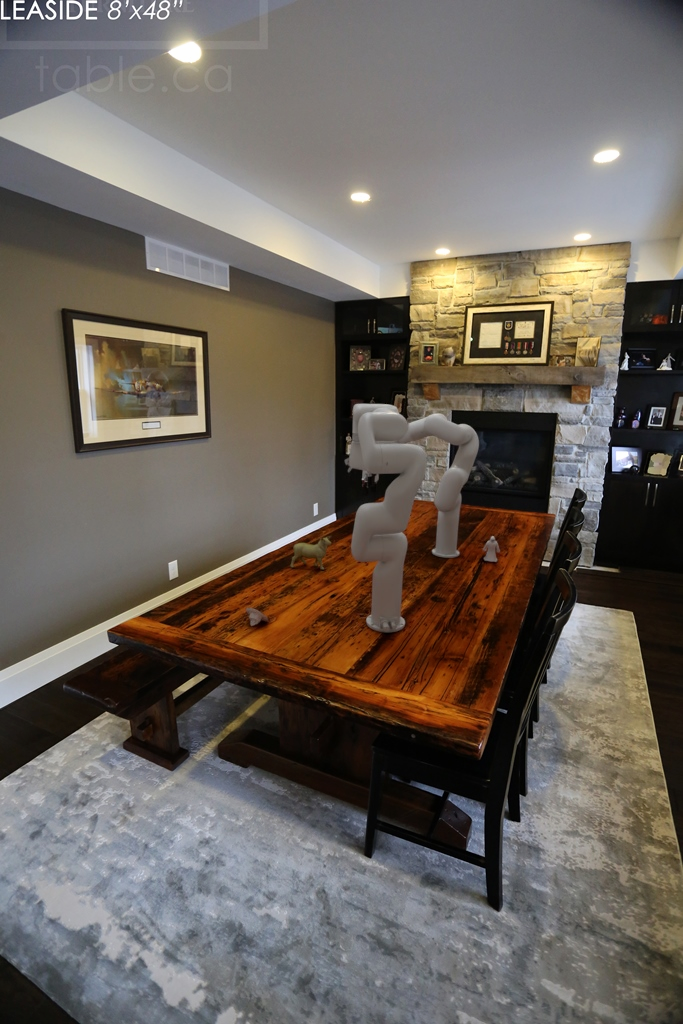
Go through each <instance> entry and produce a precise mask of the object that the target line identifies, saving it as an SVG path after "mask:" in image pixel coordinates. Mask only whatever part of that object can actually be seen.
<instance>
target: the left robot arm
mask: <svg viewBox="0 0 683 1024" xmlns="http://www.w3.org/2000/svg"><path fill="white" fill-rule="evenodd" d="M408 424H409V423H408V420H407V418H405V417H404V415H402V414H401V413H400V412H399V409H398V407H397V406H395V405H393V404H387V403H386V404H385V403H356V404H354V405H353V408H352V437H351V439H352V441H351V443H350V448H349V455H348V456H349V457H347V458H345V459H344V464H345V468H346V469H347V473H348V484H355V483H356V481H357V472H356V470H359V471H363V470H365V471H367V472H368V474H369V476H368V485H367V486H368V487H369V488H370V487H374V486H375V476H376V475H377V474H379V475H384V474H386V475H387V474H388V475H389V474H391V475H393V474H399V475H398V476H397V477H396V478H395V479H394V480H393V481H391V483H390V484H389V485H388V486H387V488H386V489H385V493H384V499H383V501H381V502H368V503H364V504H361V505H360V506H359V507H358V508H357V510H356V514H355V519H354V524H353V530H352V537H351V545H350V552H351V556H352V558H353V559H354V560H355V561H356V562H360V563H372V562H377V563H376V564H375V566H374V569H373V571H372V585H371V586H372V587H371V607H370V609H371V613H370V615H368V616H367V617H366V621H365V622H366V623H365V624H366V625H367V627H368V628H369V629H372V630H373V631H376V632H379V633H396V632H398V631H402V630H403V629H404V628H405V626H406V620H405V618H403V617H402V615H401V614H402V599H403V598H402V597H403V580H404V578H403V577H404V567H405V559H406V557H407V556H406V555H407V551H408V538H407V536H406V534H405V533H404V532H405V531H406V529H407V528H408V525H409V522H410V519H411V518H410V517H411V515H412V510H413V506H414V503H415V502H414V501H415V498H416V495H417V493H418V492H419V489H420V488H421V486H422V484H423V481H424V479H425V476H426V471H427V466H428V465H427V459H428V458H427V455H426V451H425V450H424V449H423V447H421V446H419V445H417V444H412V443H405V444H376V443H375V441H396V440H399V439H401V438H403V437H404V436H405V435H406V433H407V431H408Z"/></svg>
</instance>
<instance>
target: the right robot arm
mask: <svg viewBox="0 0 683 1024" xmlns="http://www.w3.org/2000/svg"><path fill="white" fill-rule="evenodd" d="M431 436H433V437H435V438H437V439H440V440H442V441H444V442H446V443H448V444H451V445H453V446H458V448H457V451H456V454H455V455H454V459H453V462H452V464H451V466H450V467H449V468H448V469H446V470H445V471H444V473H443V474H442V476H441V479H440V481H439V484H438V487H437V490H436V493H435V495H434V499H433V504H434V507H435V508H436V509H437V510H438V511H437V521H436V522H437V524H436V534H435V535H436V537H435V547H434V548H432V549H431V554H432V555H433V556H436V557H439V558H443V559H453V558H458V557H459V556H460V551H459V550H457V548H458V547H457V546H458V536H459V535H458V534H459V522H460V513H461V507H462V493H461V491H462V488H463V486H465V484H466V483H467V482H468V481H469V476H470V474H471V472H472V469H473V466H474V463H475V460H476V458H477V455H478V451H479V448H480V440H479V439H480V438H479V436H478V434H477V432H476V431H475V429H474V428H473V427H472V426H471V425H468V424H466V423H460V424H457V423H454V422H453V421H451V420H448V418H447V416H446V415H445V414H443V413H440V412H439V413H432V414H429V415H428V416H426V417H423V418H420V419H418V420H414V421H411V422H409V423H408V431H407V433H406V435H405V436H404V437H403V438H401V439H399V440H396V441H375V443H376V444H409V443H411V442H417V441H419V440H422V439H425V438H428V437H431ZM368 476H369V474H368V472H367V471H365V470H362V476H361V477H362V478H361V487H362V491H361V494H362V496H370V492H371V493H376V492H377V490H378V488H377V487H378V485H377V484H378V481H379V476H380V474H377V475H376V476H375V486H374V487H368V486H367V485H368Z"/></svg>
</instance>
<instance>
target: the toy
mask: <svg viewBox="0 0 683 1024" xmlns="http://www.w3.org/2000/svg"><path fill="white" fill-rule="evenodd" d="M331 538H332V535H328V536H326V537H320V538H319V540H318V542H317V543H316V544H310V543H306V542H299V543H298V542H297V543H296V544H294V545H293V547H292V548H293V553H294V556H292V557H291V563H290V569H295V565H294V564H295V562H296V561H297V560H300V561H301V562H302V564H303V565H304V566H307V562H306V559H309V560H311V559H314V563H313V566H314V567H318V565H319V568H320V571H325V568H324V566H323V559H324V558H325V557H326V556H327V551H328V546H329V547H330V546H331V545H332V542H331V541H330V539H331ZM304 558H305V559H304Z"/></svg>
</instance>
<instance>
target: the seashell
mask: <svg viewBox="0 0 683 1024" xmlns="http://www.w3.org/2000/svg"><path fill="white" fill-rule="evenodd" d="M245 611H246V614H248V615H249V616H248V619H249V625H250V626H251V627H253V626H256V625H258V624H259V623H260V622H261V621H265V622H269V618H268V616H267V615H266V614H264V613H263V612H261V611H260V610H259V609H256V608H253V607H245Z"/></svg>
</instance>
